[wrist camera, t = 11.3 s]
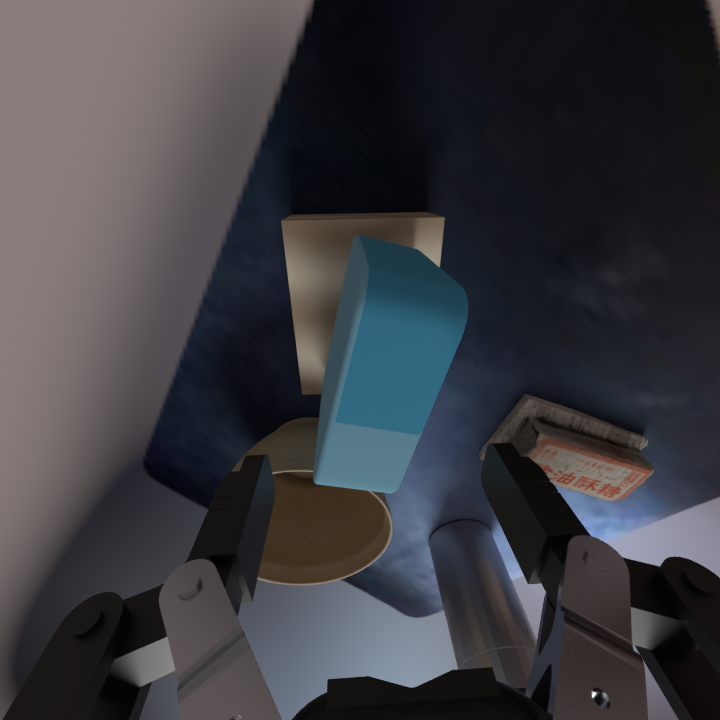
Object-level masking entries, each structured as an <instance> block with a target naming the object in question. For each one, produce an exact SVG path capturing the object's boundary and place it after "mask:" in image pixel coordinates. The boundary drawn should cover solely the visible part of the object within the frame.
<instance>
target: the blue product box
mask: <svg viewBox="0 0 720 720" xmlns="http://www.w3.org/2000/svg"><path fill="white" fill-rule="evenodd" d="M467 316H468V298H467V294H466V292H465V290H464V288H463V287H462V286H461V285H460V284H458V283H457V282H456V281H455V280H454V279H453V278H451V277H450V276H449V275H448V274H447V273H445V272H444V271H443V270H442V269H441V268H440V267H438V266H437V265H436V264H435V263H434V262H433V261H431V260H430V259H429V258H428V257H427V256H426V255H424V254H423V253H422V252H421V251H420V250H418V249H415V248H411V247H407V246H402V245H398V244H394V243H390V242H386V241H382V240H378V239H374V238H370V237H366V236H362V235H356V236H355V237H354V239H353V242H352V245H351V249H350V254H349V258H348V263H347V268H346V273H345V277H344V282H343V287H342V291H341V296H340V301H339V306H338V310H337V315H336V320H335V325H334V329H333V334H332V339H331V343H330V348H329V353H328V358H327V362H326V367H325V373H324V378H323V386H322V395H321V404H320V414H319V423H318V433H317V443H316V452H315V462H314V471H313V480H314V482H315V483H316V484H319V485H327V486H335V487H343V488H351V489H359V490H367V491H375V492H383V493H394V492H396V491H397V489H398V488H399V486H400V484H401V482H402V479H403V477H404V475H405V472H406V470H407V467H408V465H409V463H410V460H411V458H412V455H413V453H414V451H415V448H416V446H417V443H418V441H419V439H420V436H421V434H422V431H423V429H424V427H425V424H426V422H427V419H428V417H429V415H430V412H431V410H432V407H433V405H434V403H435V400H436V398H437V395H438V393H439V391H440V388H441V386H442V383H443V381H444V379H445V376H446V374H447V371H448V369H449V367H450V364H451V362H452V359H453V357H454V355H455V352H456V350H457V347H458V345H459V343H460V340H461V338H462V335H463V333H464V329H465V326H466V322H467Z"/></svg>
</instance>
